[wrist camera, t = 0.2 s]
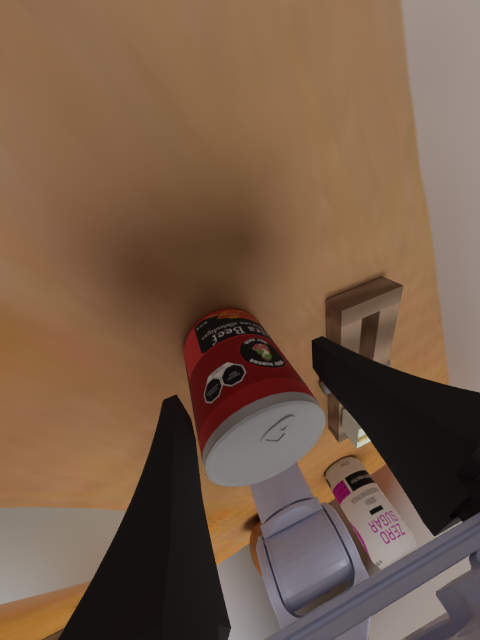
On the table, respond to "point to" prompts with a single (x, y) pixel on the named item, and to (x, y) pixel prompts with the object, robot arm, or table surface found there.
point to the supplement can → (370, 513)
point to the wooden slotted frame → (361, 330)
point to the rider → (353, 430)
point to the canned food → (247, 400)
